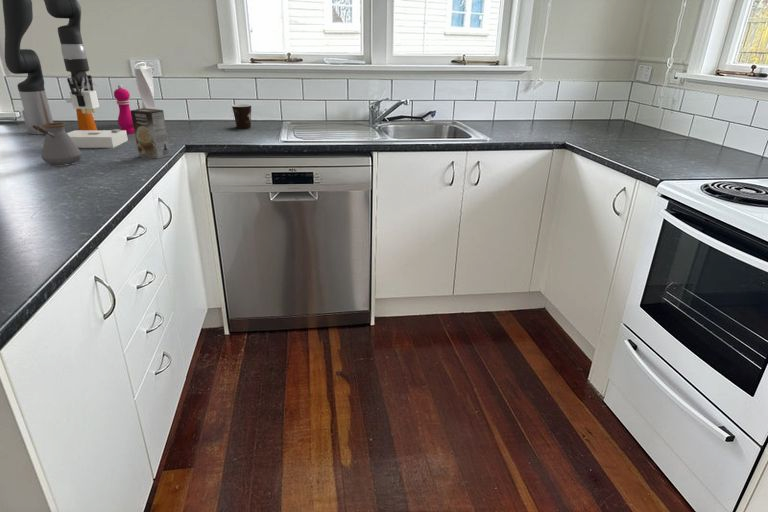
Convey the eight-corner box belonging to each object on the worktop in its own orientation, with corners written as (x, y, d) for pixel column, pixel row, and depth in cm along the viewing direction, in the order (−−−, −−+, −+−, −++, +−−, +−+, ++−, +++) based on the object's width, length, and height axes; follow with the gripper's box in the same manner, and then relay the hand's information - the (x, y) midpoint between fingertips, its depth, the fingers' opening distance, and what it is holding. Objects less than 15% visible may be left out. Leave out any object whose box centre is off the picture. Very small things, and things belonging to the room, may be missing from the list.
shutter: (84, 137, 191) (84, 135, 191) (89, 135, 194) (89, 134, 194) (96, 137, 191) (96, 135, 191) (101, 135, 195) (100, 134, 194)
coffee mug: (245, 125, 237) (242, 103, 233) (257, 127, 232) (255, 105, 228) (225, 128, 228) (222, 106, 224) (237, 130, 224) (234, 108, 220)
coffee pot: (51, 160, 170) (39, 115, 163) (88, 158, 172) (77, 114, 166) (24, 176, 151) (10, 126, 144) (66, 174, 153) (54, 125, 147)
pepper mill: (133, 134, 213) (124, 85, 205) (116, 134, 213) (106, 85, 205) (141, 131, 219) (132, 83, 211) (125, 131, 219) (115, 83, 211)
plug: (66, 114, 186) (61, 92, 183) (73, 112, 191) (68, 90, 188) (94, 114, 187) (89, 92, 184) (100, 112, 192) (95, 90, 189)
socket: (58, 147, 187) (55, 134, 185) (76, 140, 200) (74, 128, 198) (113, 147, 188) (110, 134, 186) (128, 140, 201) (125, 128, 199)
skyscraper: (145, 124, 237) (134, 62, 226) (163, 124, 238) (152, 62, 226) (139, 127, 229) (127, 63, 218) (157, 127, 230) (146, 63, 219)
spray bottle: (108, 132, 217) (94, 68, 206) (80, 134, 211) (64, 68, 200) (105, 129, 222) (92, 67, 211) (78, 131, 217) (63, 67, 206)
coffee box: (137, 156, 176) (128, 110, 169) (151, 153, 181) (142, 107, 175) (158, 159, 173) (150, 111, 166) (171, 155, 179) (163, 109, 172)
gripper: (74, 56, 187) (84, 102, 194) (53, 58, 174) (66, 107, 181) (94, 56, 188) (104, 102, 195) (76, 58, 175) (87, 107, 182)
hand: (85, 105), depth 188 cm, fingers closed on plug, 5 cm apart
